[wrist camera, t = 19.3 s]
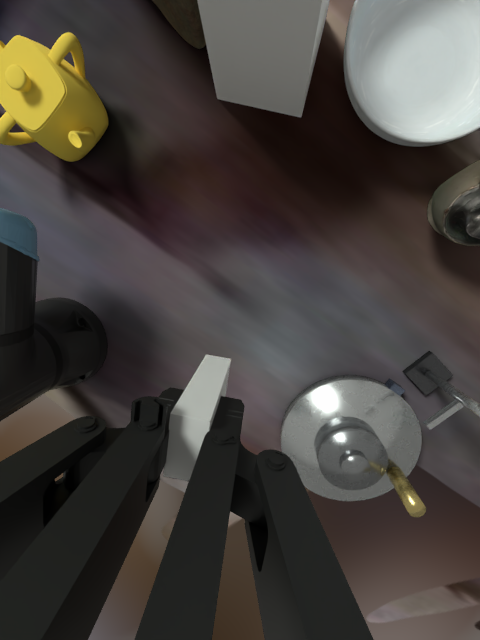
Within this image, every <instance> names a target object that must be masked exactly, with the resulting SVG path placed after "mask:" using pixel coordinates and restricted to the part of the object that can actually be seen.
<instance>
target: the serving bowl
mask: <svg viewBox="0 0 480 640" xmlns="http://www.w3.org/2000/svg"><path fill="white" fill-rule="evenodd" d="M344 76H345V84H346V88H347V92H348V96H349V98H350V101H351V103H352V106H353V108H354V110H355V111H356V113H357V115H358V116H359V118H360V119H361V120H362V122H363V123H364V124H365V125H366V126H367V127H368V128H369V129H370V130H371V131H372V132H374V133H375V134H377V135H378V136H380V137H381V138H383V139H385V140H387V141H390V142H392V143H395V144H399V145H404V146H413V147H423V146H433V145H438V144H443V143H446V142H450V141H453V140H456V139H459V138H461V137H464V136H466V135H468V134H470V133H472V132H474V131H476V130H478V129H480V0H355V3H354V5H353V8H352V11H351V14H350V18H349V22H348V27H347V33H346V39H345V46H344Z"/></svg>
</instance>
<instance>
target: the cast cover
mask: <svg viewBox="0 0 480 640" xmlns="http://www.w3.org/2000/svg"><path fill="white" fill-rule="evenodd" d="M314 448H315V452H316V456H317V460H318V464H319V468H320V471H321V473H322V475H323V476H324V478H325V479H326V480H327V481H328V482H329V483H331V484H332V485H334V486H336V487H338V488H341V489H345V490H361V489H365V488H368V487H370V486H372V485H374V484H375V483H377V482H378V481H379V480H380V479H381V478H382V477H383V475H384V474H385V472H386V470H387V466H388V455H387V452H386V449H385V447H384V446H383V444H382V443H381V441H380V439H379V438H378V436H377V435H376V433H375V431H374V430H373V429H372V427H371V426H370V425H369V424H367V423H366V422H365V421H363V420H361V419H358V418H355V417H338V418H335V419H332V420H330V421H328V422H327V423H325V424H324V425H323V426H322V427H321V428H320V429H319V430H318V432H317V434H316V437H315V440H314Z"/></svg>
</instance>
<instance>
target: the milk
mask: <svg viewBox="0 0 480 640" xmlns="http://www.w3.org/2000/svg"><path fill="white" fill-rule="evenodd" d="M329 1H330V0H197V2H198V7H199V12H200V17H201V22H202V26H203V31H204V36H205V41H206V46H207V51H208V56H209V61H210V66H211V71H212V76H213V81H214V86H215V91H216V96H217V99H219V100H224V101H228V102H233V103H237V104H242V105H246V106H251V107H255V108H260V109H264V110H269V111H273V112H278V113H282V114H287V115H291V116H296V117H300V118H301V117H302V113H303V109H304V105H305V101H306V97H307V93H308V89H309V85H310V81H311V77H312V73H313V69H314V65H315V61H316V57H317V53H318V49H319V45H320V41H321V37H322V33H323V29H324V25H325V21H326V16H327V11H328V6H329Z"/></svg>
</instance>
